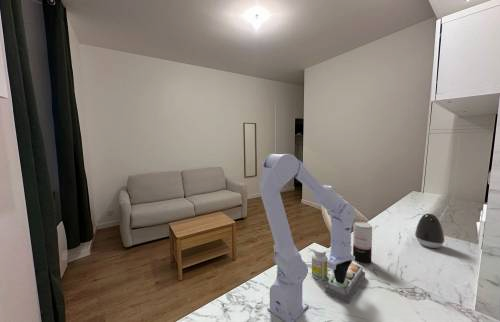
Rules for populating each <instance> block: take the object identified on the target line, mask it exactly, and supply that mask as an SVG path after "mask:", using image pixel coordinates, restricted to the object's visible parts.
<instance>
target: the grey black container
mask: <svg viewBox="0 0 500 322" xmlns="http://www.w3.org/2000/svg"><path fill="white" fill-rule="evenodd" d="M352 228H353V231H352V233H353V234H352V236H353V239H352V241H353V242H352V243H353V244H352V249H353V250H352V256H355V260H354V261H355V262H356V261H357V262H356V263H358V262H359V263H358V264H360V263H361V265H370V264H371V263H372V256H373V255H372V251H373V247H372V245H373V226H372V224H370V223H368V222H365V221H355V222H353V227H352Z"/></svg>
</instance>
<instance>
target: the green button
mask: <svg viewBox="0 0 500 322" xmlns="http://www.w3.org/2000/svg"><path fill="white" fill-rule="evenodd" d="M333 284H335V285H337V286H340V287H342V288H344V289H345V288H346V287H347V282H346V281H344V283H343V284H341V283H339V282H337V281H336V279H335V278H334V279H333Z"/></svg>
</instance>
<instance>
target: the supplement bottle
mask: <svg viewBox="0 0 500 322" xmlns="http://www.w3.org/2000/svg"><path fill="white" fill-rule="evenodd" d="M326 254H327V250H326V249H325V248H324V247H321V246H317V247H316V246H315V247H314V248H313V253H312V254H311V276H312V277H313V278H314V279H316V280H319V281H325V280H326V279H327V278H328V260H329V258H328V256H327V255H326Z"/></svg>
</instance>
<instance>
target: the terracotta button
mask: <svg viewBox="0 0 500 322" xmlns="http://www.w3.org/2000/svg"><path fill="white" fill-rule="evenodd" d="M353 264H354V263H353ZM353 264H350V266H349V269H351V270H352V271H353V272H356V273H357V272H358V267H357V266H355V265H353Z"/></svg>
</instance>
